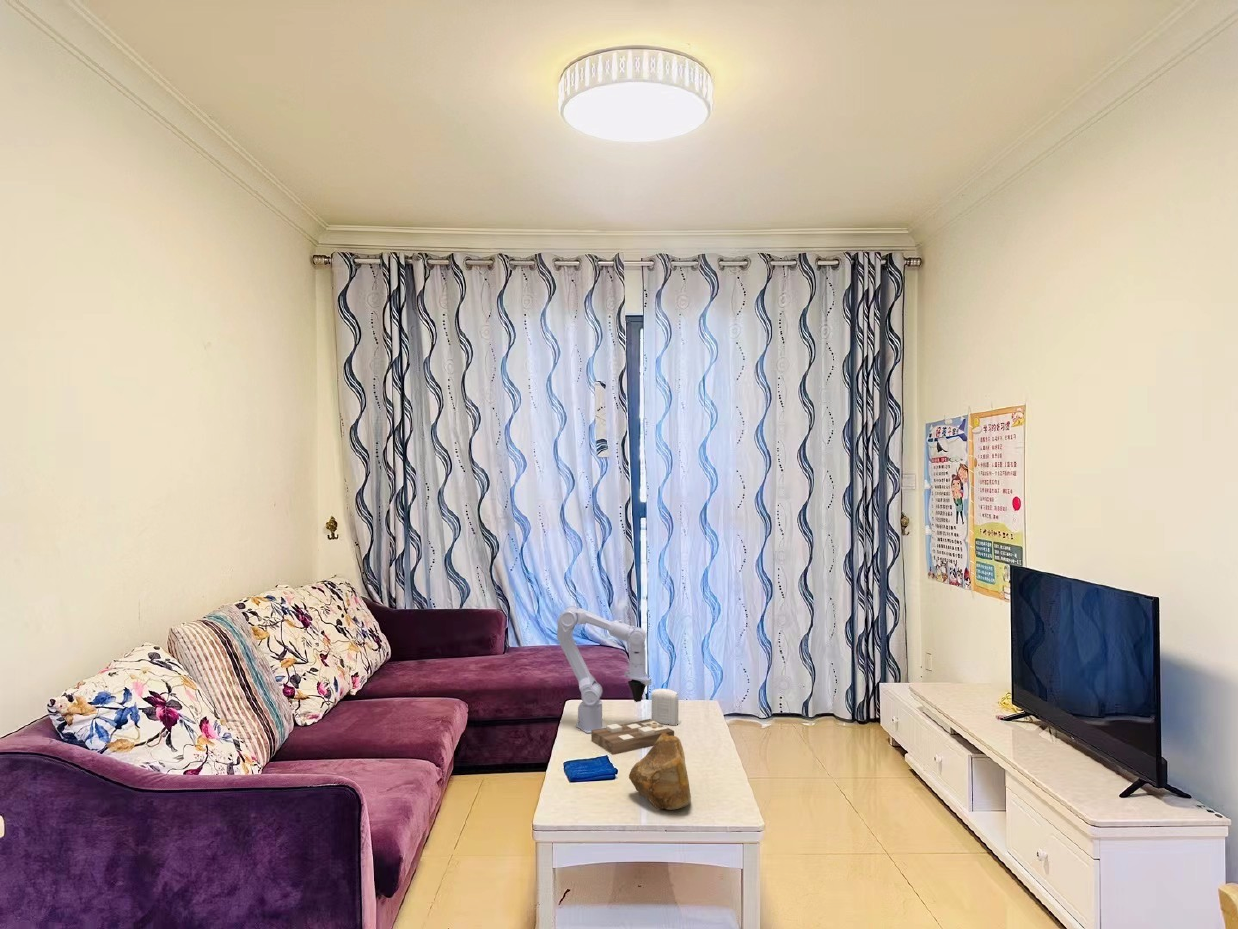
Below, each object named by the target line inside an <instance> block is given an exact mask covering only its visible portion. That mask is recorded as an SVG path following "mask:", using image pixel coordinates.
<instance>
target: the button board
mask: <svg viewBox="0 0 1238 929" xmlns="http://www.w3.org/2000/svg"><path fill="white" fill-rule="evenodd" d="M635 723H636V724H638V725H640V726H642V727H647V726H649V727H650V728H652V729H654V730H655V734H650V735H645V736H644V735H642V734H640V733H638V728H634V729H631V728H629V727H627V726H626V725H630V724H635ZM618 725H619V726H621V727H622V731H619V732H614V733H611V732H609V731H607V730H606V727H605V728H602V729H596V730H591V733H590V734H591V736H590V738H591V740H590V741H591V742H592V743H594V742H595V743H594V744H595V745H598V746H599V747H600V748H602V749H604V750H605V751H607V752H608V753H610V754H611V755H618V754H622V753H626V752H631V751H636V750H639V749H640V750H641V749H645V748H650V747H653V746H654V744H655V742H656V741H657V739H658V738H659V736H660V735H661V734H663V733H666V734H667V735H669V736H675V730H673V729H672V728H669V727H668V726H665V724H661V723H658V722H656V721H654V720H652V718H648V719H644V720H637V721H633V722H628V723H623V724H618ZM642 727H639V728H642ZM626 734H629V735H631V736H633V737H634V738H631V739H626V740H623V739H621V738H619V737H618V736H621V735H626Z"/></svg>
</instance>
